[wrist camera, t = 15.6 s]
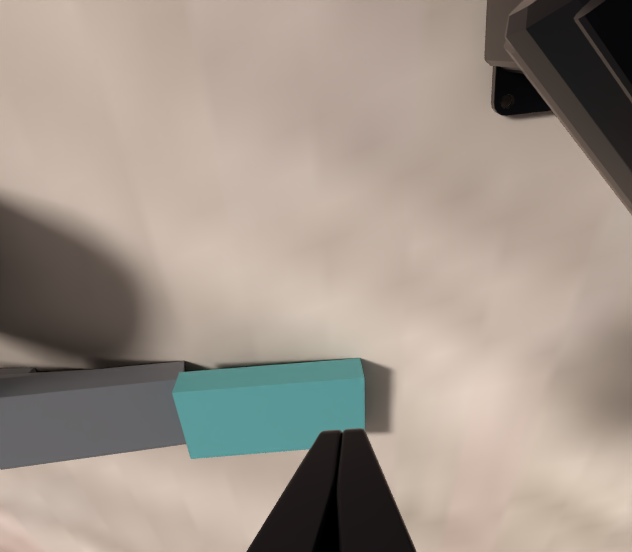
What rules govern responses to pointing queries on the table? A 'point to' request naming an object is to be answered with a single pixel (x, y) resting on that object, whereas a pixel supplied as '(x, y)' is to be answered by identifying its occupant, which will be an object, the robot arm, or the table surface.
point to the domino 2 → (268, 406)
